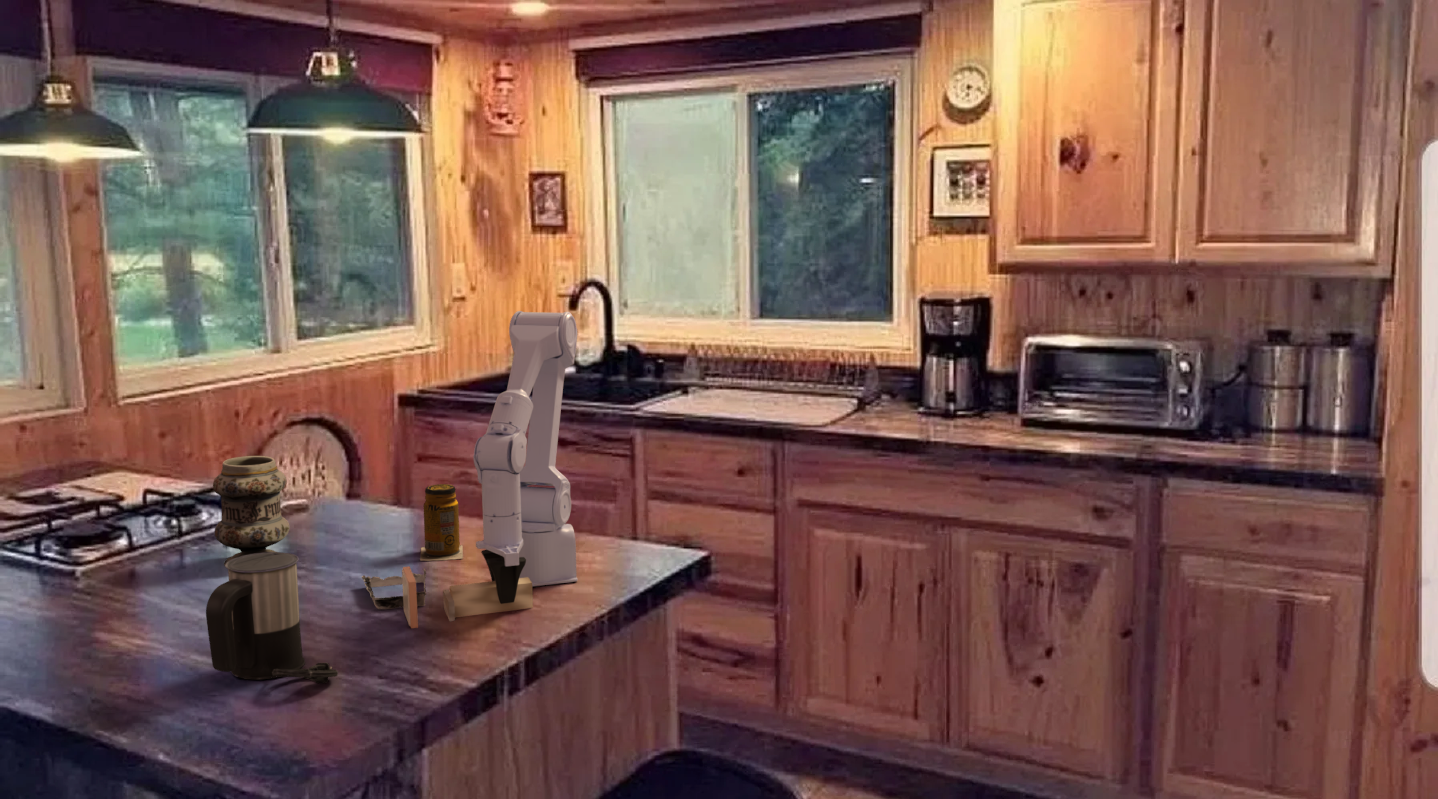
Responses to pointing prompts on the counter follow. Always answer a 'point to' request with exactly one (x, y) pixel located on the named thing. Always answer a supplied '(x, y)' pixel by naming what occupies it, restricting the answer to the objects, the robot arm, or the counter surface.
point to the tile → (409, 597)
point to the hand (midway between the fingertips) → (504, 598)
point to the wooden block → (484, 599)
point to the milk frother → (260, 620)
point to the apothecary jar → (250, 505)
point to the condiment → (441, 524)
